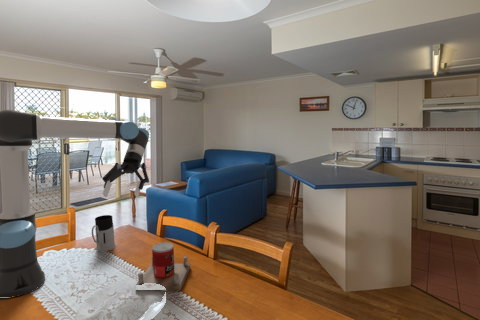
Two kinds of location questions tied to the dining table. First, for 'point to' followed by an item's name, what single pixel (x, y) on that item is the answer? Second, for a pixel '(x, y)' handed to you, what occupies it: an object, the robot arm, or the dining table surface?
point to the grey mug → (104, 233)
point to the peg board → (171, 282)
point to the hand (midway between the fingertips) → (120, 195)
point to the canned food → (163, 260)
